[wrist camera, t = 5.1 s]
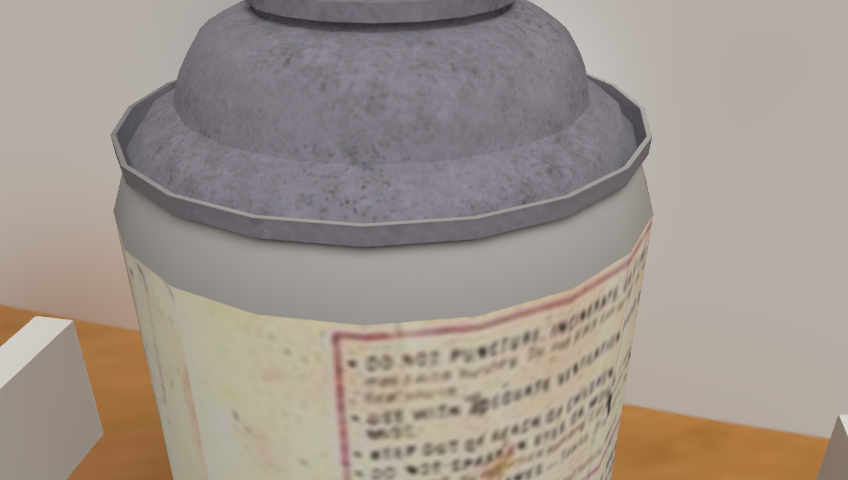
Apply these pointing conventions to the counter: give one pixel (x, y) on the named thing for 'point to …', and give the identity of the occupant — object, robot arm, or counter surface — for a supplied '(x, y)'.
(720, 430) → the counter surface
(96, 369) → the counter surface
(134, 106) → the aerosol can
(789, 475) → the counter surface
